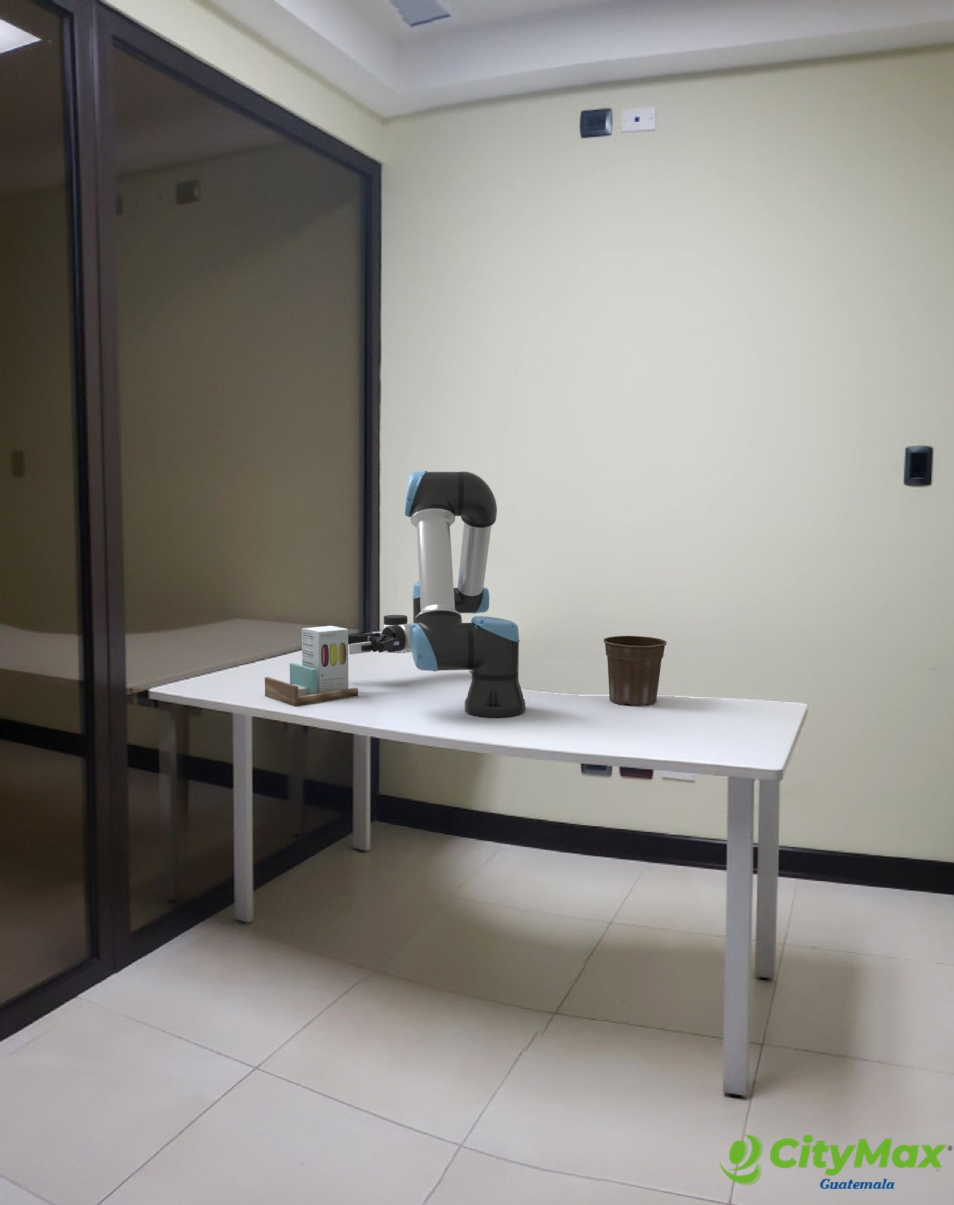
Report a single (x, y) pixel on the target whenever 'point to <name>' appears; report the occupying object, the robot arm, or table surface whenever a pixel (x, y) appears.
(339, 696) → the lane
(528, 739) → the table surface
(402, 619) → the jar
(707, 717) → the table surface
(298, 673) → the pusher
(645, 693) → the plant pot
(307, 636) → the supplement box
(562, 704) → the table surface
